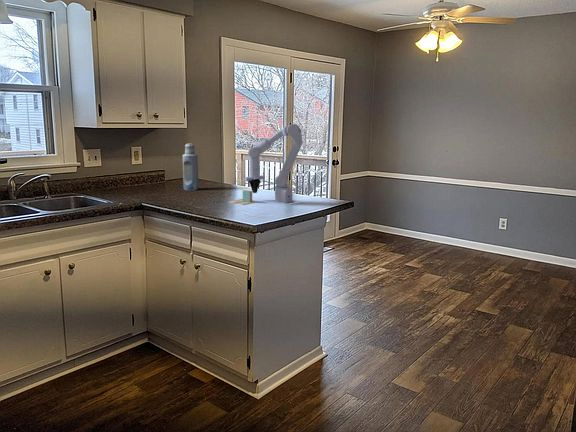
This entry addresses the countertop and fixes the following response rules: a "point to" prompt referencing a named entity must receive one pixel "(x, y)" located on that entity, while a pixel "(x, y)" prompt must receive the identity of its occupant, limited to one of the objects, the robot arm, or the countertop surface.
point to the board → (242, 202)
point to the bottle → (190, 168)
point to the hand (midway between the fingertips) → (254, 192)
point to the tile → (247, 196)
